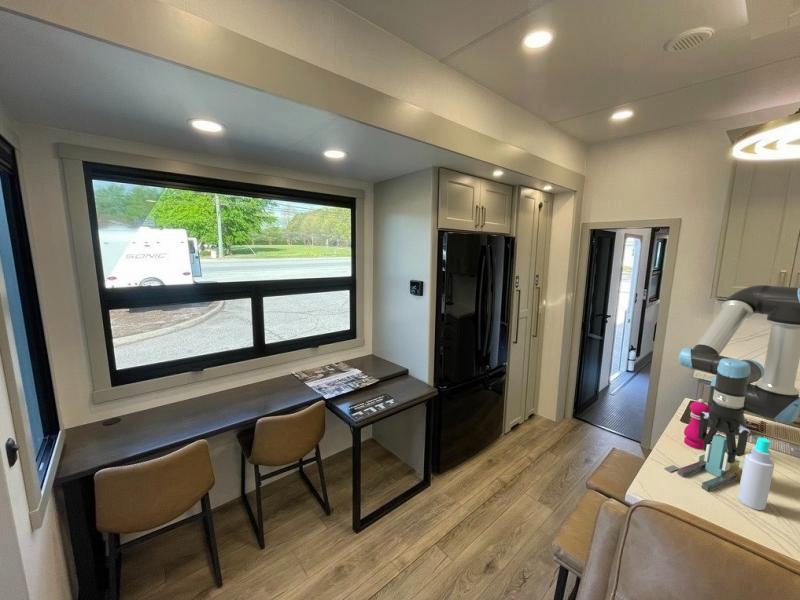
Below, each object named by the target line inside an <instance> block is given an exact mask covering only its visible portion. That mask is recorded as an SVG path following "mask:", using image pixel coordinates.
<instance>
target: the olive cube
mask: <svg viewBox="0 0 800 600" xmlns="http://www.w3.org/2000/svg"><path fill="white" fill-rule="evenodd" d="M739 464H740V461H739V460H736V459H735V461H734V463H733V468H732V472H733V473H735V474H736V473H737V472H739V469H740V465H739Z"/></svg>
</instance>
